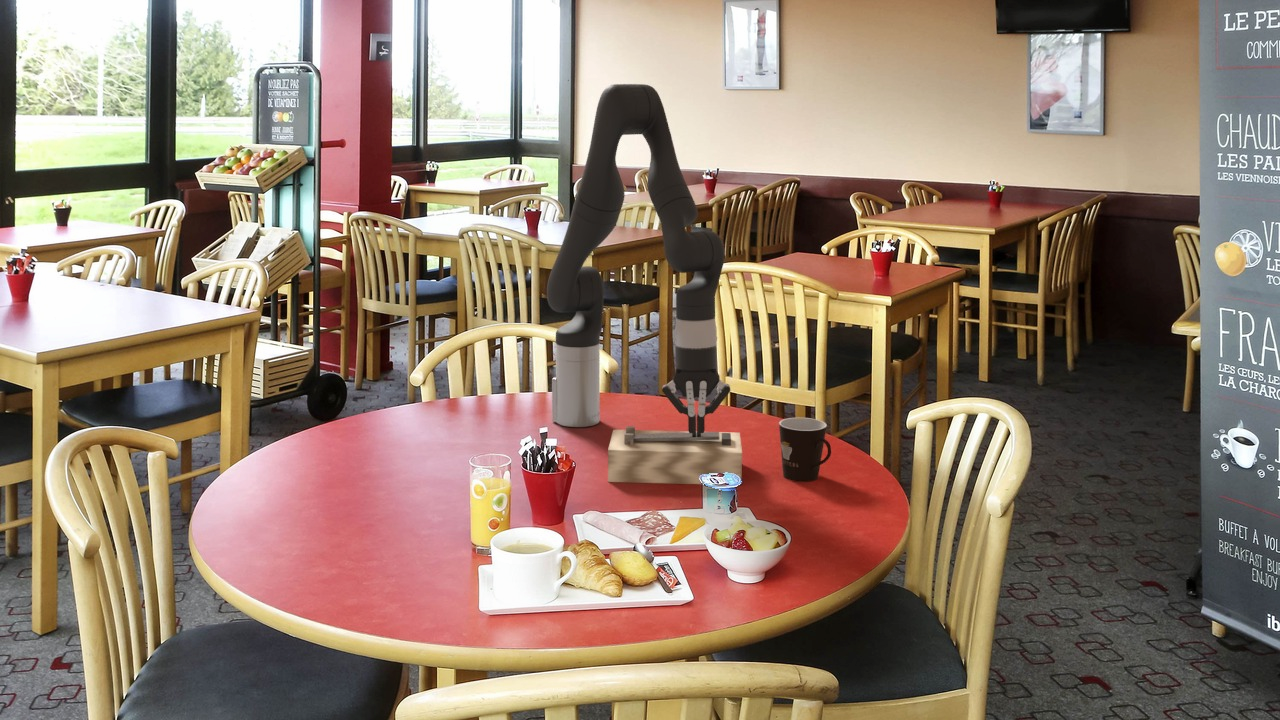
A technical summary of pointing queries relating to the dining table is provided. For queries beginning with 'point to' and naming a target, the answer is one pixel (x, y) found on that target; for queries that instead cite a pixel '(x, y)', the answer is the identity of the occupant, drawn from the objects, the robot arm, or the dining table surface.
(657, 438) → the strap
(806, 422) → the coffee mug
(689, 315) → the robot arm
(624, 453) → the tea crate
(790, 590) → the dining table surface
